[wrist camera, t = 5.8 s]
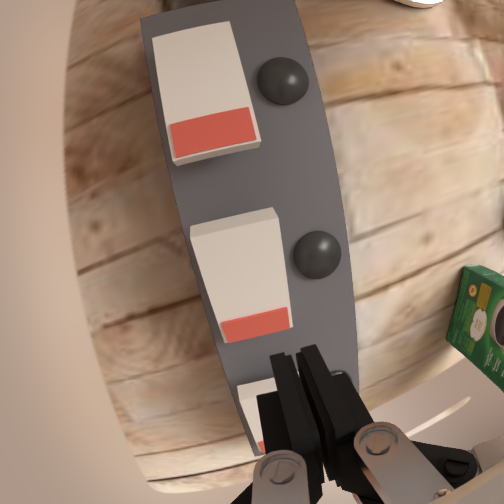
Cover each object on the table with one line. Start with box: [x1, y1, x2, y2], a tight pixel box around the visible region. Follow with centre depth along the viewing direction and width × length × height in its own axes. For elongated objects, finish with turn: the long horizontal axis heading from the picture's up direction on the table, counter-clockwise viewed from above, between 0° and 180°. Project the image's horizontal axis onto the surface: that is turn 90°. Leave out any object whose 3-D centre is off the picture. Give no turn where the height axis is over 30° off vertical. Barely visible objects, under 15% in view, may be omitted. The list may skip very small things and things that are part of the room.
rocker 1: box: [152, 21, 261, 166], centre depth 14 cm, size 4×7×2 cm, turn 12°
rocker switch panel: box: [140, 0, 359, 456], centre depth 20 cm, size 9×32×4 cm, turn 12°
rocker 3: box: [237, 371, 299, 453], centre depth 19 cm, size 4×7×2 cm, turn 12°
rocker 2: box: [190, 207, 293, 343], centre depth 16 cm, size 4×7×2 cm, turn 12°
